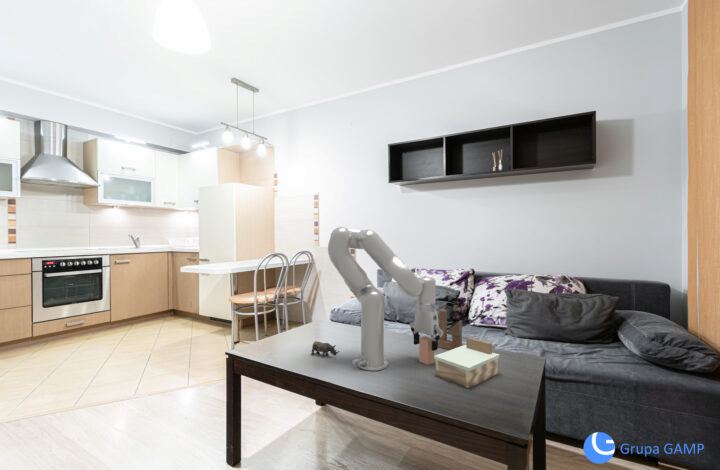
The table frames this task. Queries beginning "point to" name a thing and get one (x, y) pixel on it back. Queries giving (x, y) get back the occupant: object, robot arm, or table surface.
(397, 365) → the table surface
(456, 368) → the tan wooden low box
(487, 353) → the lid
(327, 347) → the rhino figurine
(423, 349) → the salmon rectangular block
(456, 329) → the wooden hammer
